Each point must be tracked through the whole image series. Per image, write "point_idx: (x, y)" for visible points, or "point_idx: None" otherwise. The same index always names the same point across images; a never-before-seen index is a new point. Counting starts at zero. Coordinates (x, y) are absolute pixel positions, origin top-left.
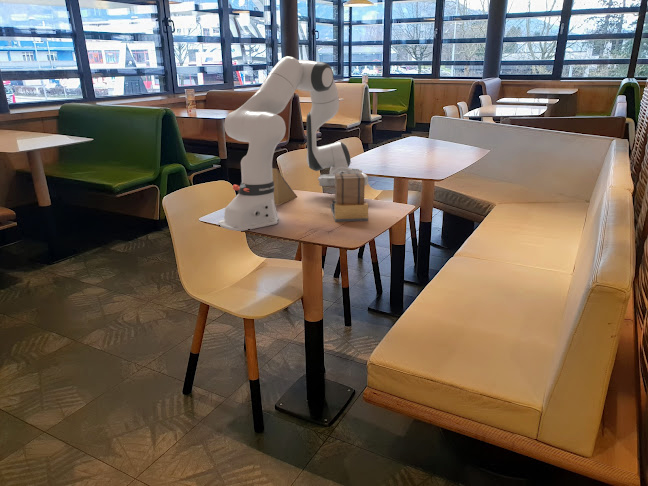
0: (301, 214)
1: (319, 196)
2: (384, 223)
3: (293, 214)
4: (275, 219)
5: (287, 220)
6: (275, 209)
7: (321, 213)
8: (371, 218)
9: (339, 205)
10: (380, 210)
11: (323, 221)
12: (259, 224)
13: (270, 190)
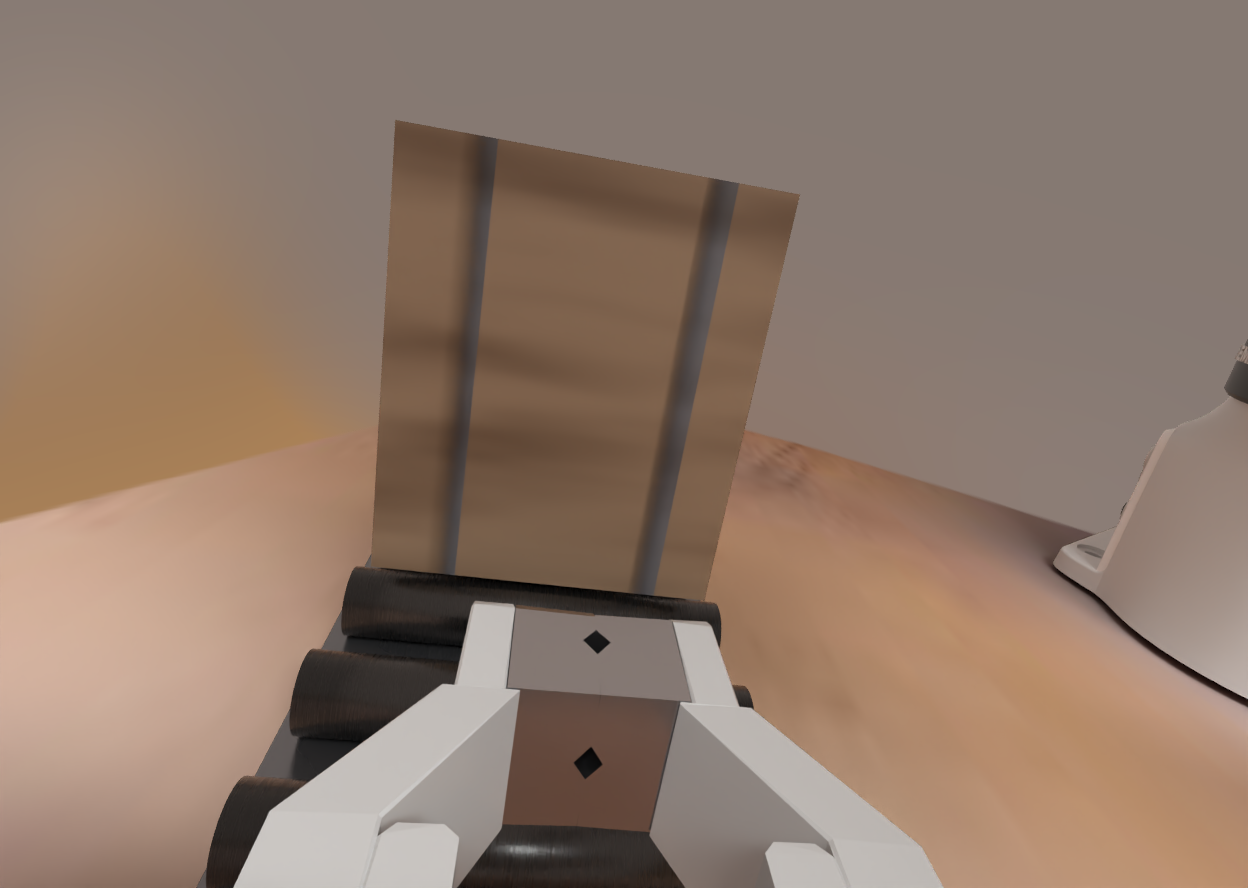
0: (1040, 711)
1: None
2: (311, 457)
3: (1124, 724)
4: (1095, 566)
5: (1041, 607)
6: (1144, 519)
7: (841, 706)
8: (349, 527)
9: None
10: (27, 687)
11: (755, 550)
12: (1113, 530)
13: (1233, 372)
